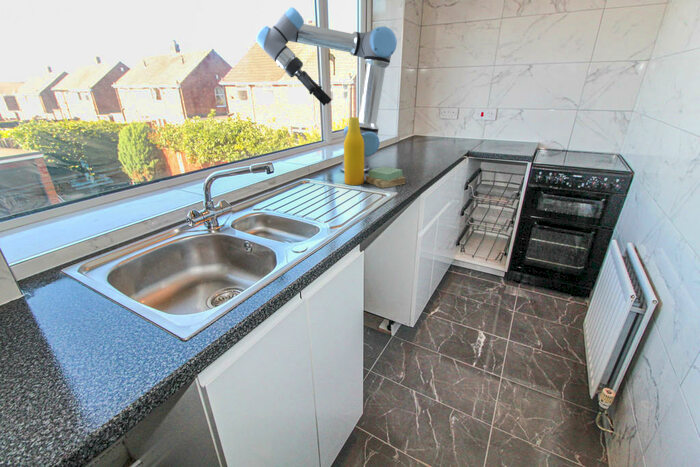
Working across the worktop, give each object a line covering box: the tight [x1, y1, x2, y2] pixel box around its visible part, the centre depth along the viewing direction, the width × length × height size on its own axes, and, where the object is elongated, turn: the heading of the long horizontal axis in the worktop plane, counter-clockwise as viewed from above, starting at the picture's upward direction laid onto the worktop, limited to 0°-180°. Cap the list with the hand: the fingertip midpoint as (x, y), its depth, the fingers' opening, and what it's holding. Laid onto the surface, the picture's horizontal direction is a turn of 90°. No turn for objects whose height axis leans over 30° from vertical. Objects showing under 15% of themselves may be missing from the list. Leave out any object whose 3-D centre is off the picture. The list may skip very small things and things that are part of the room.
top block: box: [368, 166, 403, 181], centre depth 151 cm, size 11×11×3 cm
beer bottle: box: [343, 116, 365, 186], centre depth 148 cm, size 9×9×29 cm
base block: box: [365, 174, 406, 189], centre depth 153 cm, size 13×13×3 cm
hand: (328, 102), depth 140 cm, fingers open, 13 cm apart
